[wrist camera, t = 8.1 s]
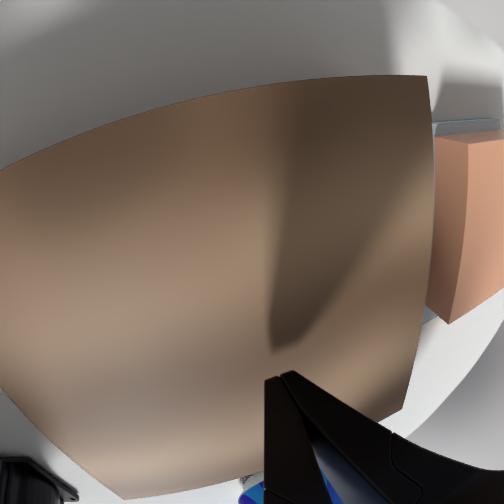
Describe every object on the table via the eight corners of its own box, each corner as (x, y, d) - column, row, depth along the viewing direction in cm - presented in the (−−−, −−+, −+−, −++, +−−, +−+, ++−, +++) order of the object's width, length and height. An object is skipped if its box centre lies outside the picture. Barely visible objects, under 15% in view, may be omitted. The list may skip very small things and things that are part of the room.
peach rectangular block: (448, 324, 14) (425, 305, 16) (507, 284, 15) (486, 270, 17) (468, 144, 10) (433, 136, 11) (526, 136, 11) (498, 129, 12)
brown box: (362, 359, 16) (401, 408, 13) (121, 437, 14) (124, 499, 11) (348, 80, 10) (426, 75, 6) (-26, 189, 8) (-90, 228, 4)
